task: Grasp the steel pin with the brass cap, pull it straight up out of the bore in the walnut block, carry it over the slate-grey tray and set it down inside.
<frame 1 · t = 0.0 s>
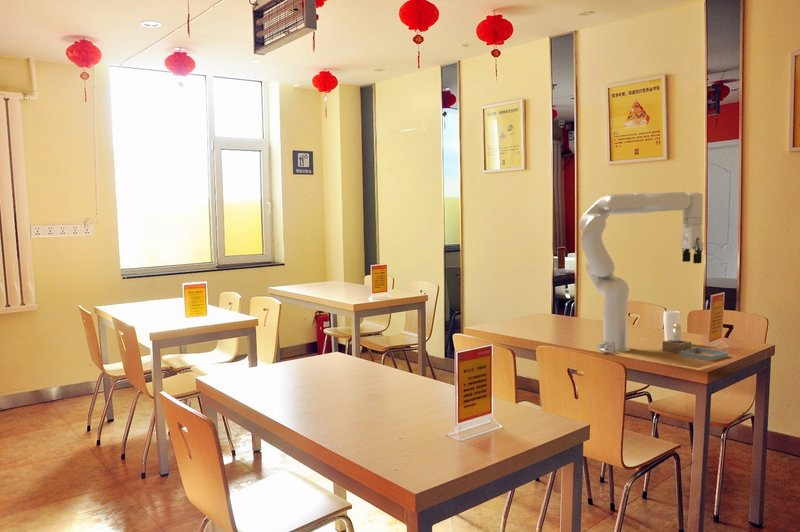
hand: (691, 262, 272), 37 cm above the table, tool pointing down, fingers open, 9 cm apart
pin block: (676, 353, 266), on the table
tray: (703, 358, 256), on the table
pin: (676, 351, 266), point 1 cm above the table, touching pin block
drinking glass: (671, 345, 283), on the table
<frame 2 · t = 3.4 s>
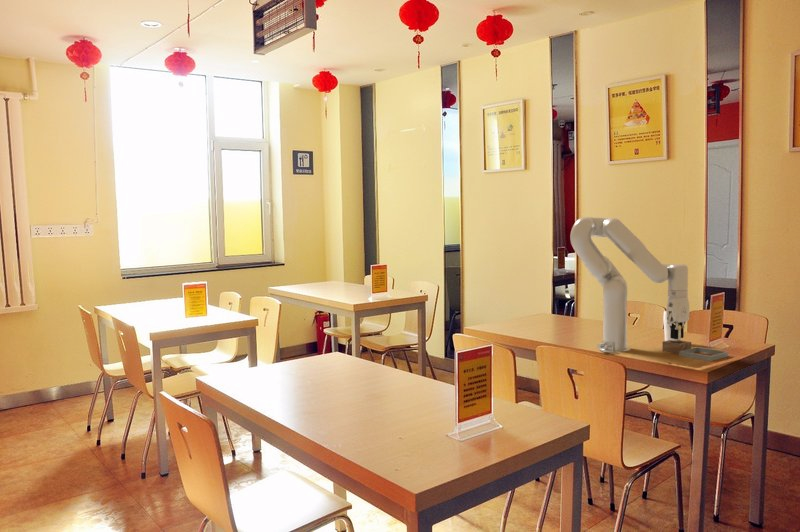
hand: (676, 337, 265), 7 cm above the table, tool pointing down, fingers closed on pin, 3 cm apart
pin: (676, 351, 266), point 1 cm above the table, touching gripper, pin block
everything else where it was.
when the fingers open (7 cm above the table, at t = 11.4 s): pin drops 1 cm, resting on tray.
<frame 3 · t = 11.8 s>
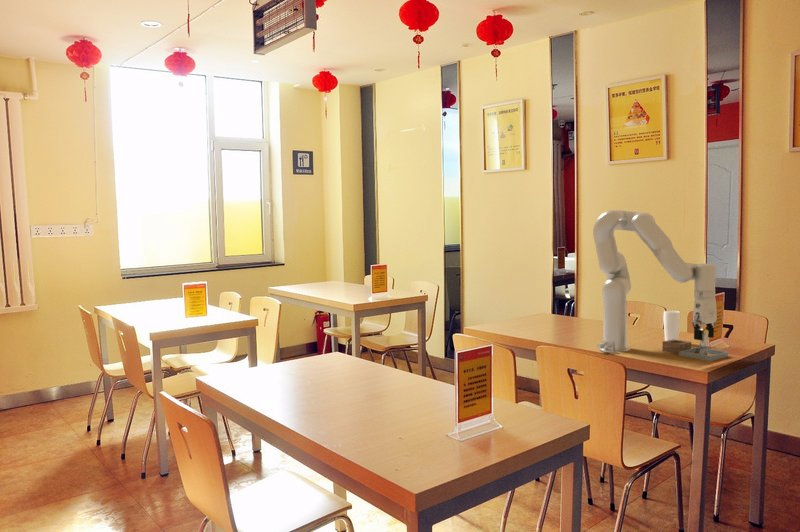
hand: (703, 338, 256), 8 cm above the table, tool pointing down, fingers open, 7 cm apart
pin: (703, 356, 256), point 1 cm above the table, touching tray
everything else where it was.
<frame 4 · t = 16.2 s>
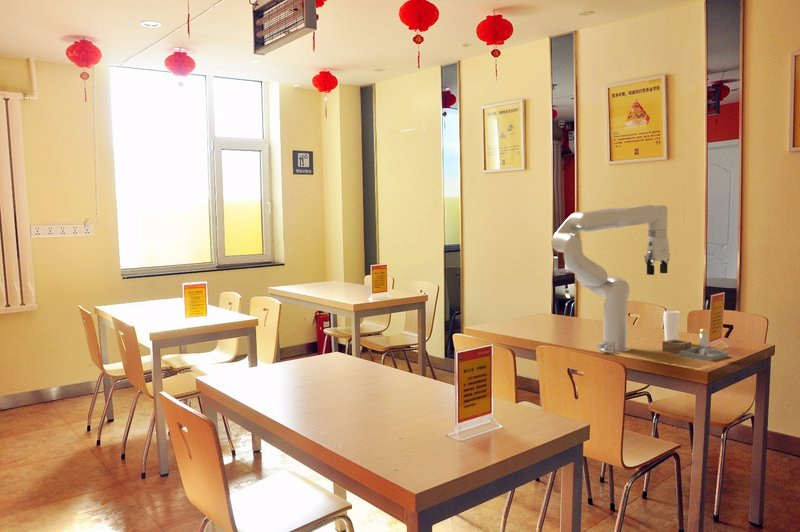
hand: (657, 273, 275), 32 cm above the table, tool pointing down, fingers open, 9 cm apart
nothing on the table moved.
at the end: pin inside the target area on the tray (0.1 cm from its centre), point 0.6 cm above the tray's base; the gripper is holding nothing; pin touching tray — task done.
